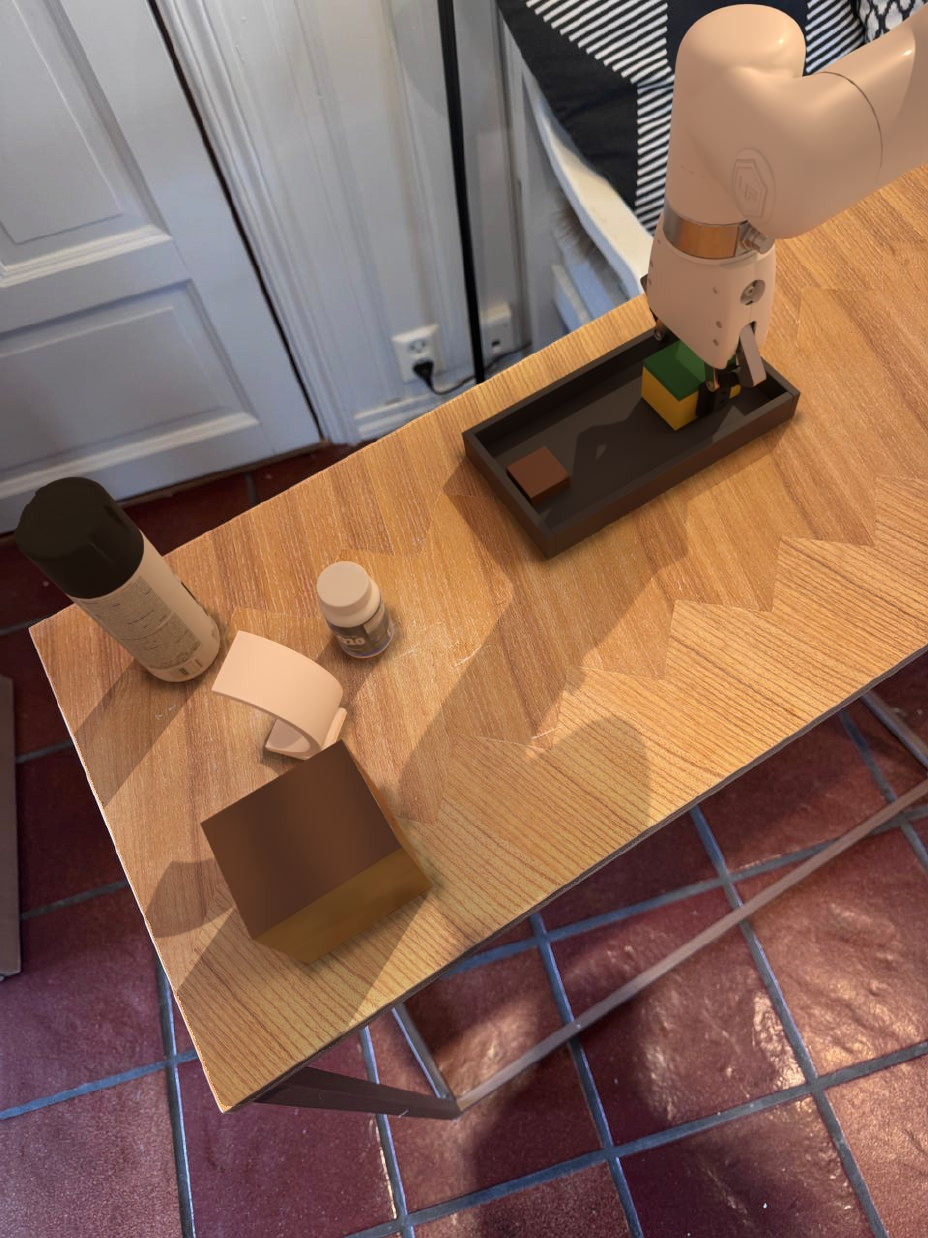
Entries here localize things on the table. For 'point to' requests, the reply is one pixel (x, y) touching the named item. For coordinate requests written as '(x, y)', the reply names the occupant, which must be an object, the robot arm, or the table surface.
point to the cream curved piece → (284, 694)
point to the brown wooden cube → (314, 856)
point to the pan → (613, 442)
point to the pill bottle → (354, 609)
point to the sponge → (675, 383)
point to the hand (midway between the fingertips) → (691, 387)
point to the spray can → (117, 577)
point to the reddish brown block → (538, 476)
